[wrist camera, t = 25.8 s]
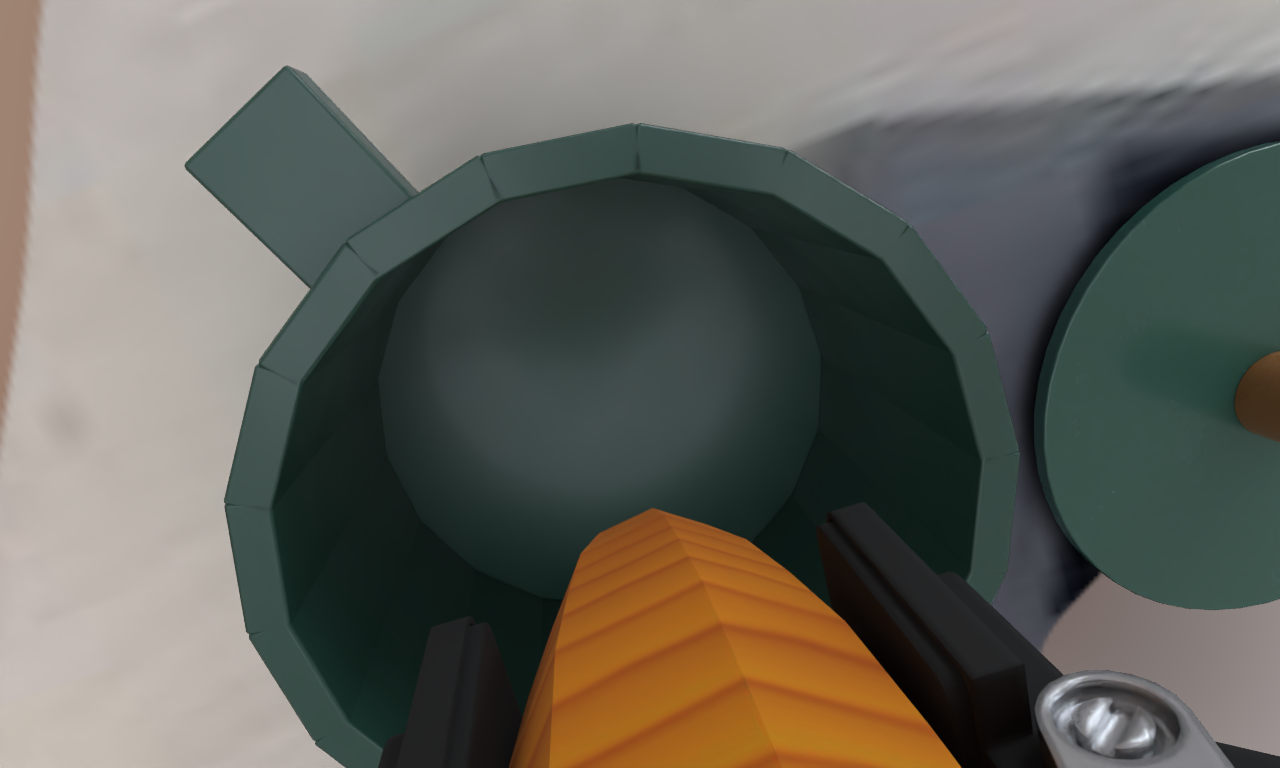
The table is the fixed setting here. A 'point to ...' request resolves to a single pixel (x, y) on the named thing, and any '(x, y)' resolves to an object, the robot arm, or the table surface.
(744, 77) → the table surface
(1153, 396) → the lid
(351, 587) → the pot
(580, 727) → the carrot
